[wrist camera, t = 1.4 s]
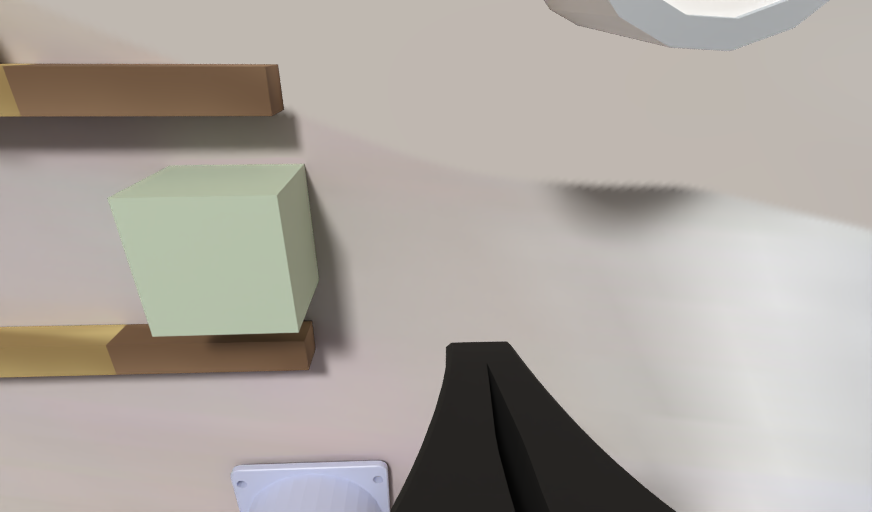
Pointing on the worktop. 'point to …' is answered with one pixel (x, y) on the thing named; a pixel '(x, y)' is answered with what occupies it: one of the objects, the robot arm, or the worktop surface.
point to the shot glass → (689, 19)
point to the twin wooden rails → (143, 96)
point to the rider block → (220, 248)
